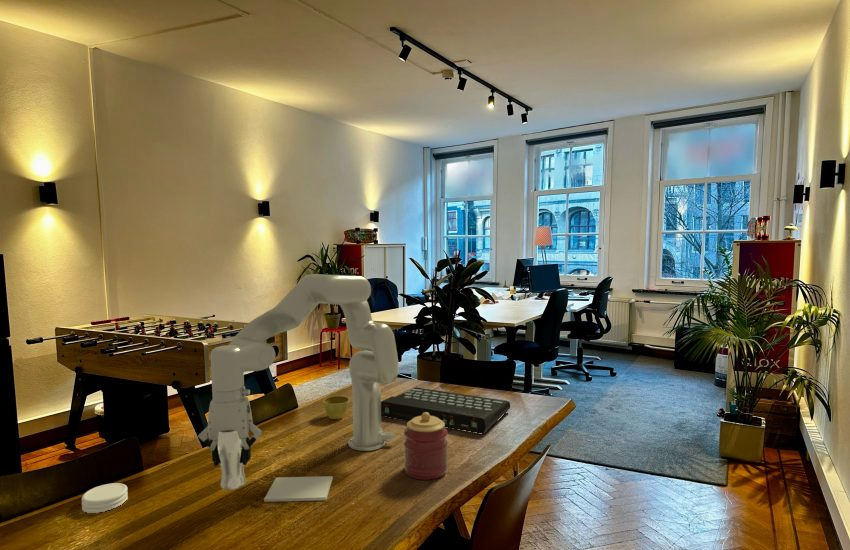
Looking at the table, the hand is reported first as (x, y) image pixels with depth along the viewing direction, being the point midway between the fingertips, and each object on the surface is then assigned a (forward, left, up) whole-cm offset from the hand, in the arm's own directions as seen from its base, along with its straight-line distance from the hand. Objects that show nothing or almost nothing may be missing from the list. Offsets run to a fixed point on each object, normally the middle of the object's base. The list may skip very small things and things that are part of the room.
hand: (231, 462), depth 125 cm
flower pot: (-18, -65, -11) cm, 69 cm away
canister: (-51, -17, -12) cm, 55 cm away
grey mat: (-16, -7, -11) cm, 21 cm away
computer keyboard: (-60, -67, -12) cm, 91 cm away
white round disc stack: (+33, -2, -12) cm, 35 cm away
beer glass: (0, 0, -6) cm, 6 cm away
